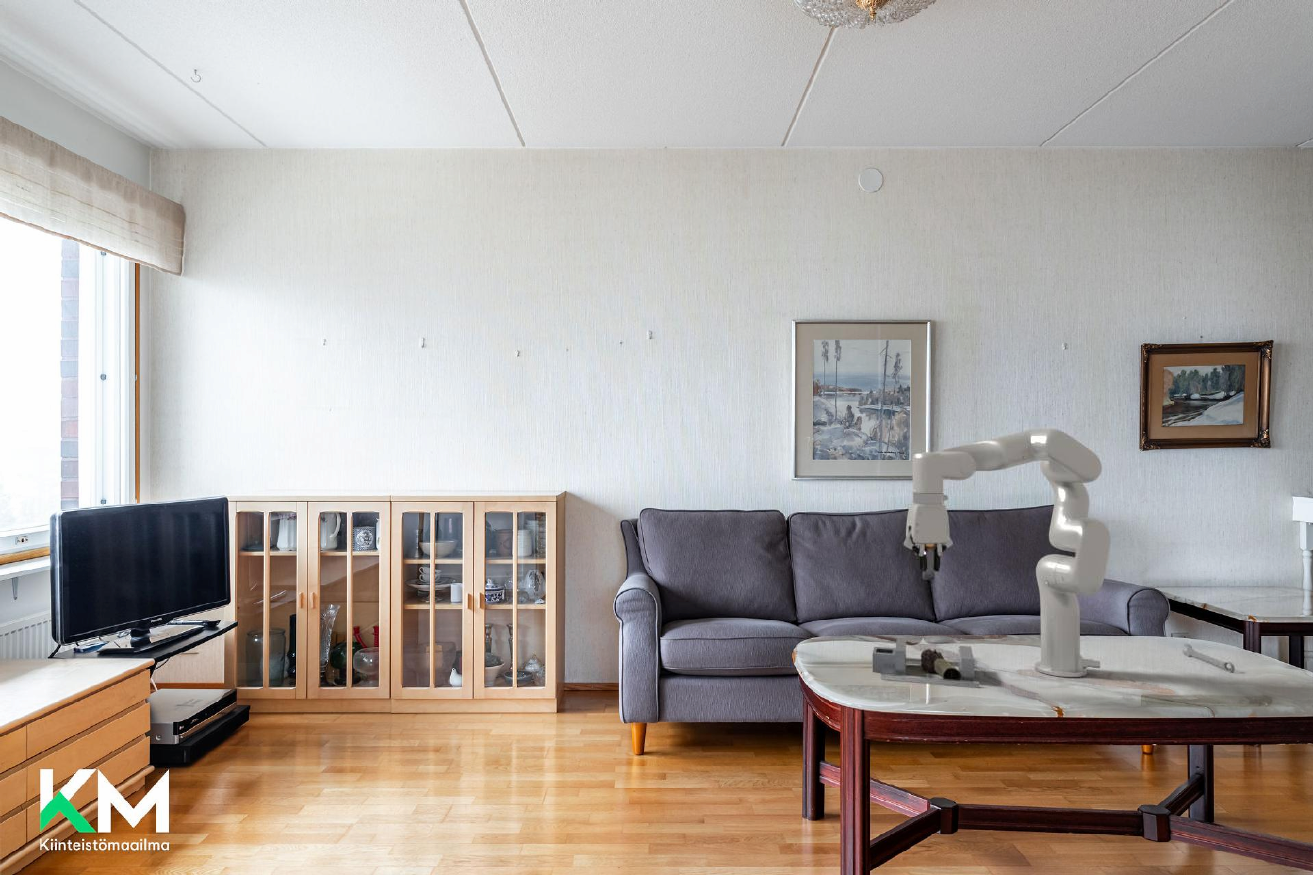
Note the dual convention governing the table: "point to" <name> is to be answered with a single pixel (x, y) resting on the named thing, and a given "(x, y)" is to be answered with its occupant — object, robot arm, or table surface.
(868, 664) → the table surface
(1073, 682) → the table surface
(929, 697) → the table surface
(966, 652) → the block
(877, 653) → the tailstock
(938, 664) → the brown wood log
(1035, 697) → the table surface
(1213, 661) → the combination wrench
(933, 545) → the grey cylinder orange cap
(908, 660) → the grey flat plate
